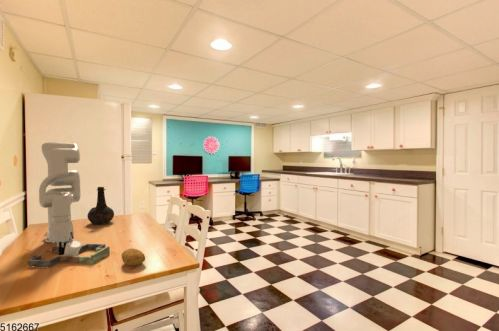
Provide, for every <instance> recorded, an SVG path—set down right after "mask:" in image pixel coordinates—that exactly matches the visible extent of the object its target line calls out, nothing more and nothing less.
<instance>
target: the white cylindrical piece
mask: <svg viewBox="0 0 499 331" xmlns="http://www.w3.org/2000/svg"><path fill="white" fill-rule="evenodd" d="M72 240H73V242H72V243H71V242H69V241H68V242H67V243H66V247H65V252H64V255H63V256H79V253H78V252H79V250H80V248H81V246H83V242H82V241H80V240H78V239H72Z"/></svg>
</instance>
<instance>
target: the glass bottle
mask: <svg viewBox="0 0 499 331" xmlns="http://www.w3.org/2000/svg"><path fill="white" fill-rule="evenodd" d="M106 189H107V188H106ZM106 189H105V187H104V186H98V187H97V189H96V191H97V199H96V201H97V202H96V206H95V207H92V208H91V209H89V211H88V213H87V220H88V221H89V222H90V223H91V224H93V225H97V226H99V225H106V224H109V223H110V222H111V221H112V220H113V219H114V217H115V211H114V210H113V209H112V208H111V207H109V206H108V205H107V200H106V197H105V190H106Z"/></svg>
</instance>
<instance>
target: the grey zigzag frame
mask: <svg viewBox="0 0 499 331" xmlns="http://www.w3.org/2000/svg"><path fill="white" fill-rule="evenodd" d="M89 250H90V251H95V252H94V253H92V254H91V255H90V256H81V255H80V256H79V255H77V256H64V255H62V256H61V255H58V256H56V257H53V258H51V259H49V260H46V259H45V260H44V259H43V255H42V254H31V255H30V259H28V260H27V267H28V266H34V267H33V268H46V267H48V268H49V267H50V268H52V267H53V266H55V265H58V264H60V263H64V264H89V265H91V264H93V265H94V264H95V263H97V262H98V261H101V260H102V259H104V258H105V257H108V256H109V255H110V254H111V253H110V246H108V245H107V246H106V244H105V243H85V244H84V245H83V244H82V246H81V248H80V250H79V252H78V254H82V253H83V252H86V251H89ZM51 253H55V254H59V250H58V247H57V246H51ZM50 268H49V269H50Z"/></svg>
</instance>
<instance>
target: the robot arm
mask: <svg viewBox="0 0 499 331" xmlns="http://www.w3.org/2000/svg"><path fill="white" fill-rule="evenodd" d="M41 152H42V155H43V157H44V159H45V160H46V163H47V176H46V177H45V178H44V179H43V180H42V181H41V183H40V185H39V189H38V203H39V205H40V207H42V208H45V209H46V208H47V220H48V222H47V223H48V226H47V228H48V229H47V230H48V231H46V232H45V233H44V234H43V237H46V238H45V242H46V243H52V244H55V246H56V247H58V250H59V253H58V256H64V252H65V247H66V243H67V242H68V241H69V242H71V243H72V242H73V240H74V237H75V230H74V225H73V220H72V218H71V217H72V214H71V213H72V212H71V211H72V210H71V209H72V208H71V205H72V204H73V203H78V202H79V201H80V200H81V176H80V172H78V171H77V170H72V169H71V170H69V165H68V164H76V163H79V162H80V160H81V154H80V150H79V146H78V144H77V143H74V142H56V141H55V142H54V141H50V142H49V141H48V142H44V143H43V144H42V145H41ZM48 186H51V187H55V188H50V189H48V190H47V188H48ZM63 186H64V187H63ZM65 186H66V187H65ZM68 186H70V187H68ZM57 187H58V188H57Z"/></svg>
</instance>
